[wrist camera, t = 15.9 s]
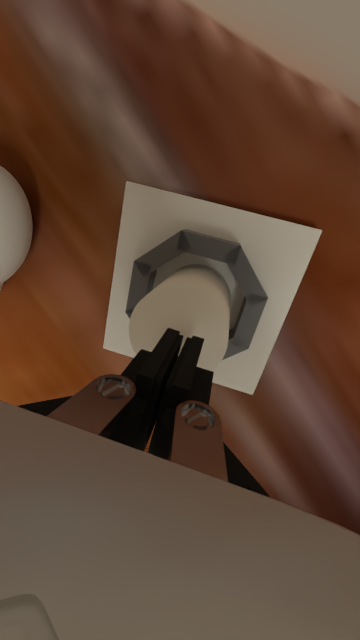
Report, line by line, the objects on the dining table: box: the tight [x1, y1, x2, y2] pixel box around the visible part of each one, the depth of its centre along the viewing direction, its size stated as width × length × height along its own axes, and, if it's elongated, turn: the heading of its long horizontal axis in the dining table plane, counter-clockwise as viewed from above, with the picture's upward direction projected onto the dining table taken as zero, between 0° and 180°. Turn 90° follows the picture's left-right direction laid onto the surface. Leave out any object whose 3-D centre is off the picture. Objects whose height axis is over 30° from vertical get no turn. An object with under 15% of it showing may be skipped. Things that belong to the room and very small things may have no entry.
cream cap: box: [129, 264, 231, 371], centre depth 16 cm, size 5×5×7 cm
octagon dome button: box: [103, 181, 322, 395], centre depth 19 cm, size 13×13×3 cm
